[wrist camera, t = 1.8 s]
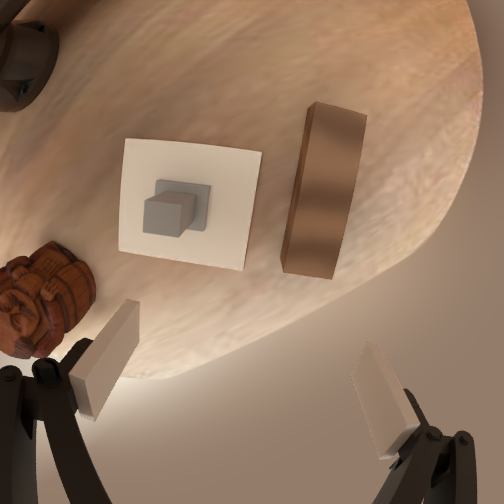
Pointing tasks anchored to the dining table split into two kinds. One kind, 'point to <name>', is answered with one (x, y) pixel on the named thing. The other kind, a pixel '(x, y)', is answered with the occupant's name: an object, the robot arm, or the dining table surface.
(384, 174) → the dining table surface
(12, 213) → the dining table surface
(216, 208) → the fulcrum
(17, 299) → the wooden figurine
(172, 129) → the dining table surface
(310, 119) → the bar
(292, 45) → the dining table surface
